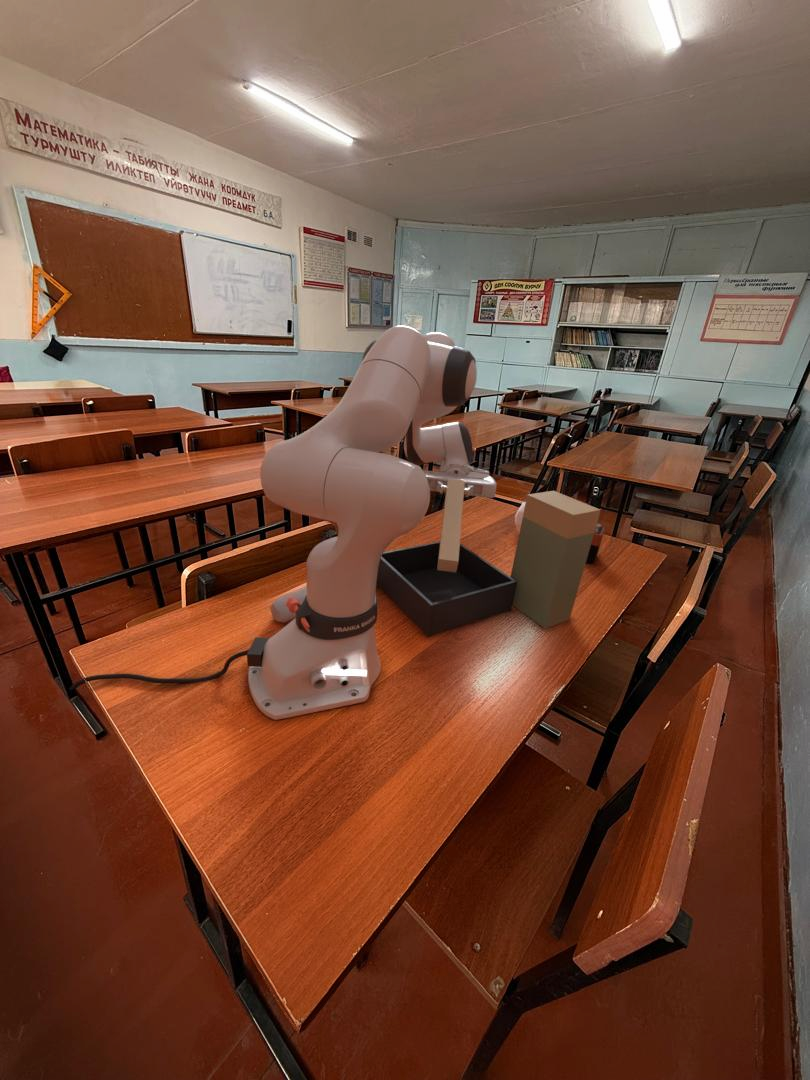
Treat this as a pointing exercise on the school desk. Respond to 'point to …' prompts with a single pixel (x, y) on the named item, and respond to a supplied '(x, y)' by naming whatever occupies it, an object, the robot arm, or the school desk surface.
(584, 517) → the stand
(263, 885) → the school desk surface
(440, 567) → the cream rectangular beam
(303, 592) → the tube
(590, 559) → the battery
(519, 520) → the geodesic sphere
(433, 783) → the school desk surface
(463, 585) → the bin
